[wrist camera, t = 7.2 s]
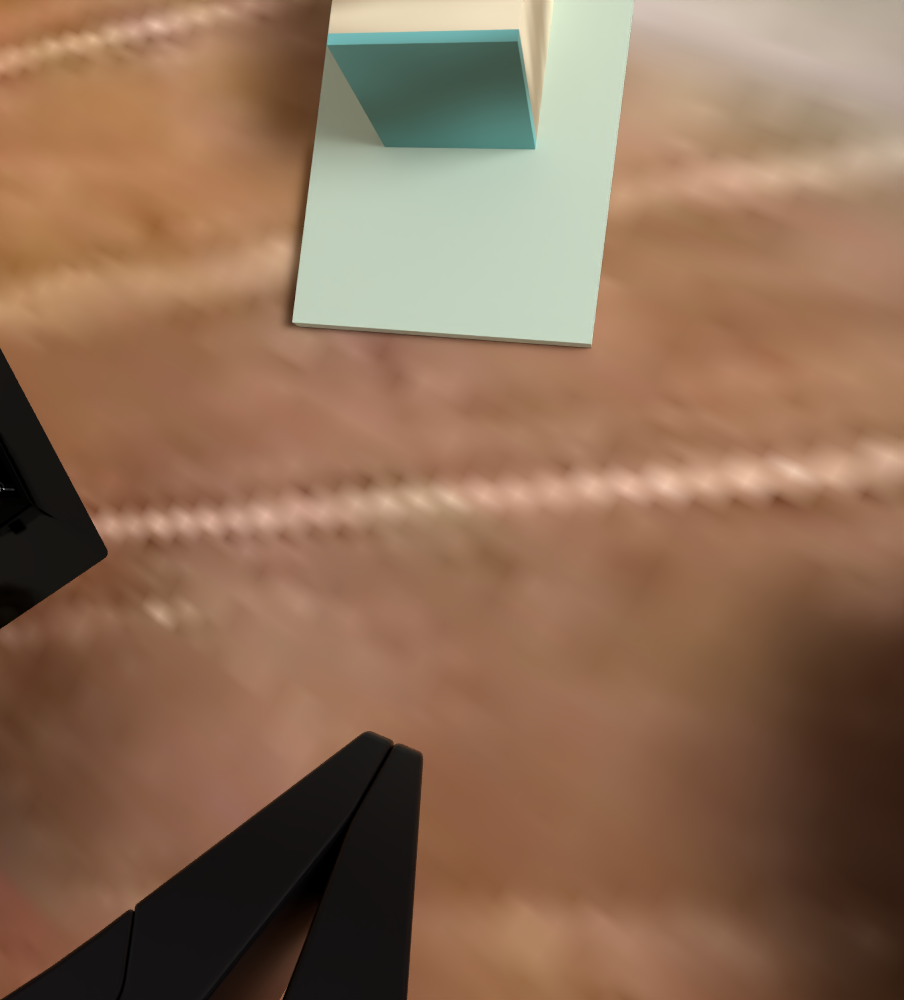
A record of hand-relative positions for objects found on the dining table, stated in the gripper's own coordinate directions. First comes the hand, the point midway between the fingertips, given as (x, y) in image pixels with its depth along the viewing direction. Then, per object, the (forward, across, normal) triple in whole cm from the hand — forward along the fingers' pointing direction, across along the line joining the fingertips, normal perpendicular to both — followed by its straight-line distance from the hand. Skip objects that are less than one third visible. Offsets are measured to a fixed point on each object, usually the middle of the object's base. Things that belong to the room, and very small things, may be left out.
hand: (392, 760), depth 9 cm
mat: (+19, +7, -7) cm, 22 cm away
